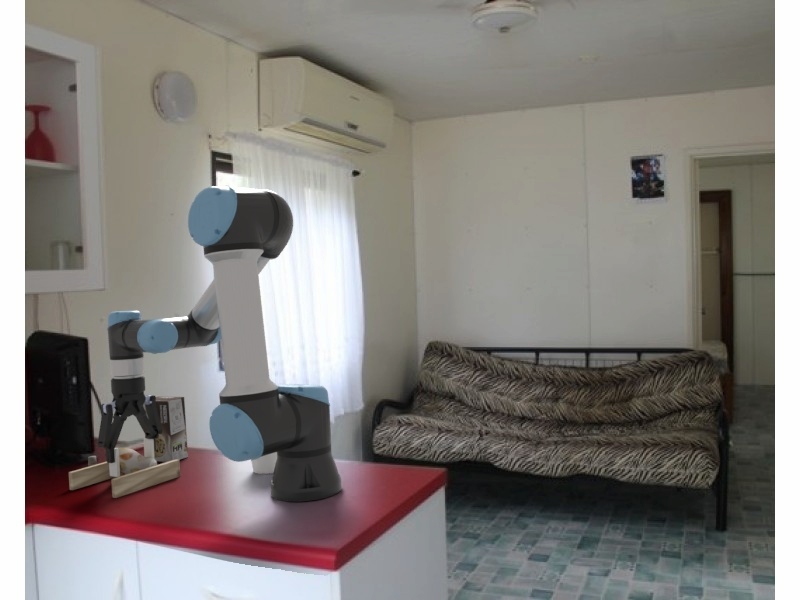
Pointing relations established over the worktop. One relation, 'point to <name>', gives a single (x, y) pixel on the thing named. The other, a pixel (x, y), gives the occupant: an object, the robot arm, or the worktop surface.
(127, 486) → the bay
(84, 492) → the worktop surface
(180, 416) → the cookie box
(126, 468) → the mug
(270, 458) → the cup
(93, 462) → the crank handle
